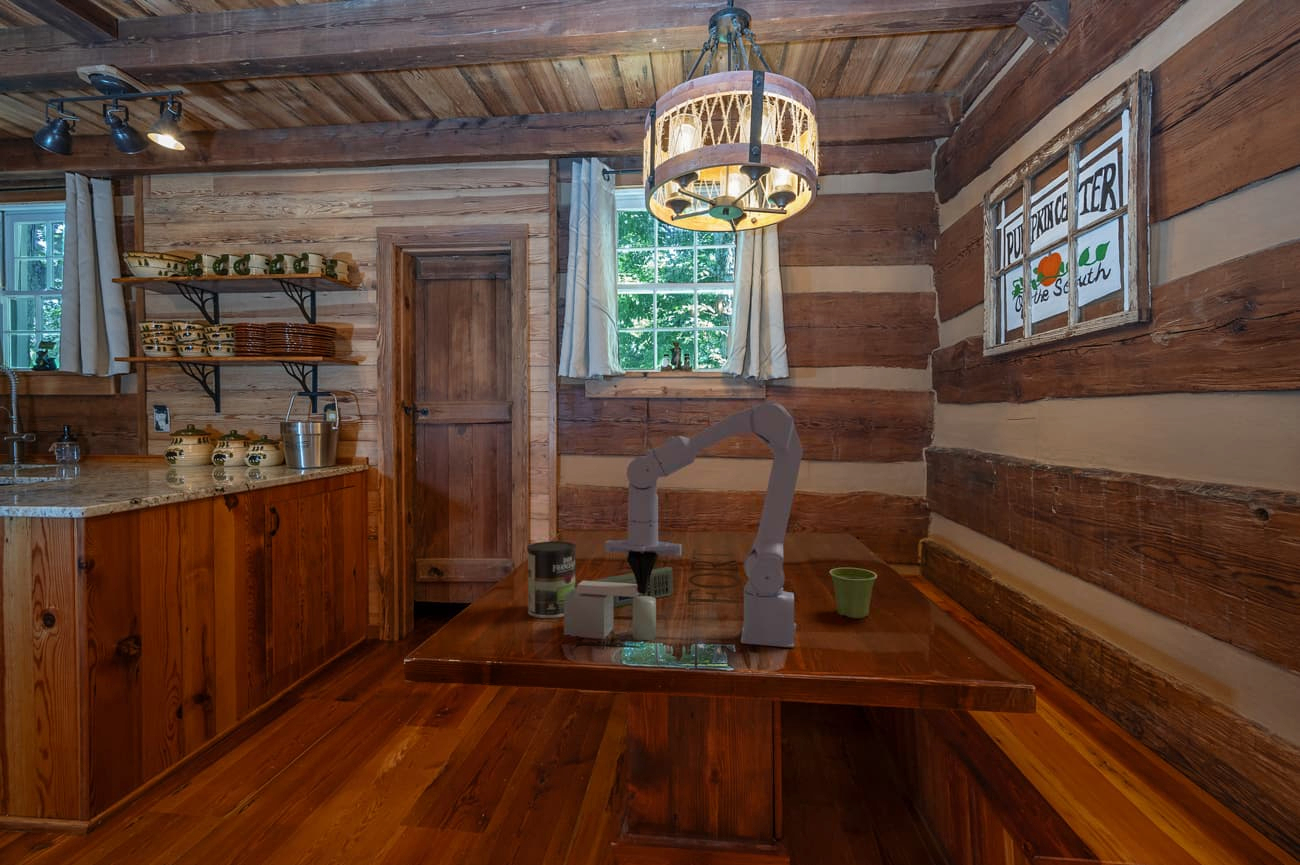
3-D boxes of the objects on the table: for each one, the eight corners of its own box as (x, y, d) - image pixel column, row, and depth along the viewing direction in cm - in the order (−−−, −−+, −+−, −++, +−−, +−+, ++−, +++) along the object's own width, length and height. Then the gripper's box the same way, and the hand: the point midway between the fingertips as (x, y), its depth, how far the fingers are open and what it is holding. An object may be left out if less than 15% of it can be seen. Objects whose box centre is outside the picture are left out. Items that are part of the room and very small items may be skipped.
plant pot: (884, 621, 114) (884, 579, 114) (838, 621, 114) (838, 579, 114) (866, 606, 123) (866, 567, 123) (823, 607, 123) (823, 567, 123)
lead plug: (658, 633, 108) (658, 596, 108) (653, 641, 104) (652, 604, 104) (636, 631, 109) (635, 595, 109) (630, 639, 105) (629, 602, 105)
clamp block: (613, 627, 111) (613, 589, 111) (604, 638, 105) (604, 599, 105) (575, 624, 113) (575, 587, 113) (564, 635, 107) (563, 596, 107)
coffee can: (585, 609, 122) (585, 544, 122) (550, 622, 114) (550, 553, 114) (553, 600, 128) (552, 538, 128) (517, 612, 120) (517, 546, 120)
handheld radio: (675, 596, 132) (580, 617, 118) (666, 593, 135) (573, 613, 120) (674, 568, 132) (580, 585, 118) (666, 565, 135) (572, 582, 121)
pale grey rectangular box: (640, 592, 108) (640, 584, 108) (636, 597, 105) (636, 588, 105) (582, 588, 111) (582, 580, 111) (577, 593, 108) (577, 584, 108)
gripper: (599, 522, 104) (599, 595, 104) (677, 525, 101) (677, 600, 101) (611, 516, 111) (611, 584, 111) (683, 518, 107) (683, 589, 108)
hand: (643, 591), depth 106 cm, fingers closed
